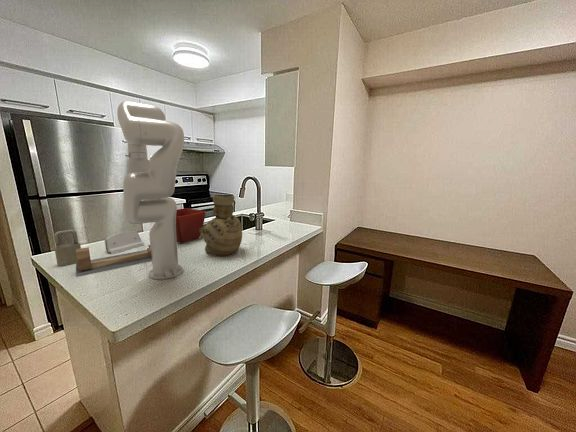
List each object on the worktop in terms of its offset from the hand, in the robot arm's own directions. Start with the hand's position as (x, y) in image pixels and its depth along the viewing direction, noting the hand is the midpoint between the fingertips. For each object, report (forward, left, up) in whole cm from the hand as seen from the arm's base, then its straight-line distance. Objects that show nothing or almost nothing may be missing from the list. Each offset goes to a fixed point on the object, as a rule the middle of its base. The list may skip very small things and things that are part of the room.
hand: (142, 194), depth 118 cm
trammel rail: (-10, +12, -28) cm, 32 cm away
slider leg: (-10, +25, -28) cm, 39 cm away
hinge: (+11, +9, -30) cm, 33 cm away
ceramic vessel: (-27, -29, -29) cm, 49 cm away
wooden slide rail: (-9, +12, -29) cm, 33 cm away
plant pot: (+9, -21, -29) cm, 37 cm away
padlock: (+3, +30, -29) cm, 42 cm away
